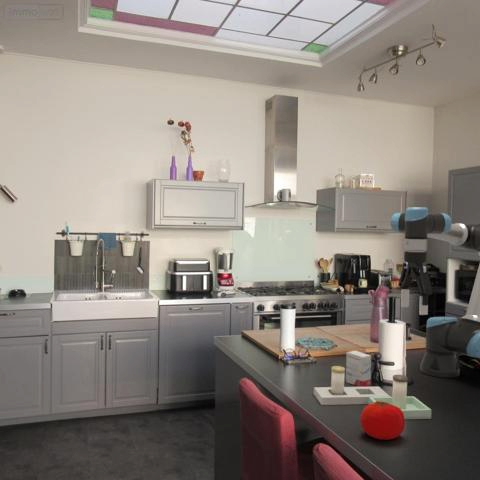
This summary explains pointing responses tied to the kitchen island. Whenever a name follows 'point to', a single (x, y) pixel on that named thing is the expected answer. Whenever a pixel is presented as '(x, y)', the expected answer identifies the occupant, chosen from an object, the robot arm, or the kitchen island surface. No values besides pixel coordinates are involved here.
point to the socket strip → (345, 391)
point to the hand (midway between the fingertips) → (413, 310)
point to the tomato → (382, 420)
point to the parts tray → (408, 407)
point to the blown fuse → (399, 391)
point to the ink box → (358, 369)
